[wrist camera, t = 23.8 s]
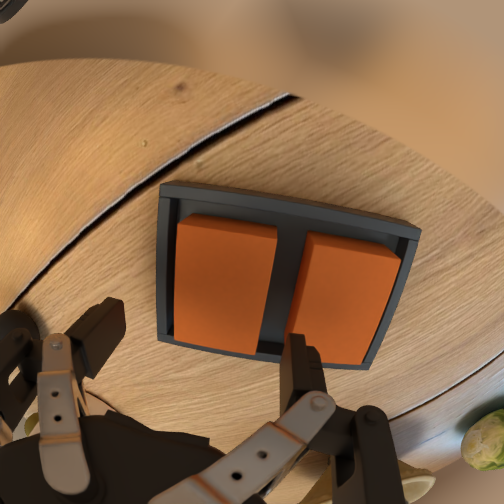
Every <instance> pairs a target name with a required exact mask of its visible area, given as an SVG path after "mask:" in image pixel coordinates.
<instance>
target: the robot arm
mask: <svg viewBox="0 0 504 504" xmlns="http://www.w3.org/2000/svg"><path fill="white" fill-rule="evenodd" d="M11 1H12V0H0V12H1V11H2V10H3V9H4V8H6V7H7V6H8V5H9V4H10V2H11ZM125 331H126V322H125V312H124V303H123V301H122V300H119V299H115V298H112V297H107V298H106V299H105V300H104V301H103V302H102V303H101V304H97V305H94V306H92V307H90V308H89V309H88V310H87V311H86V312H85V313H84V315H82V316H81V317H80V318H79V319H78V320H77V321H76V322H75V323H74V324H73V325H72V326H71V327H70V328H69V329H68V330H67V331H66V332H65V333H64V334H62V333H55V334H51V335H49V336H47V337H46V338H45V339H44V340H37V339H32V337H31V334H30V332H29V330H27V329H25V328H16V329H14V330H12V331H10V332H9V333H8V334H7V335H6V336H5V337H4V338H3V339H2V340H1V341H0V504H266V502H265V501H264V500H263V499H264V498H265V497H266V496H267V495H268V494H269V493H270V492H271V491H272V490H273V489H274V488H275V487H276V486H277V485H278V484H279V483H280V482H281V481H282V480H283V479H284V478H285V476H286V475H287V474H288V473H289V472H290V471H291V470H292V469H293V468H294V467H295V466H296V465H297V464H298V463H299V462H300V461H301V460H302V458H303V457H304V456H305V455H306V454H307V453H308V452H309V451H310V450H315V451H318V452H321V453H325V454H329V455H331V476H332V504H406V503H405V497H404V491H403V485H402V480H401V475H400V470H399V465H398V461H397V456H396V452H395V447H394V443H393V439H392V435H391V431H390V427H389V423H388V419H387V416H386V414H385V413H384V412H383V411H382V410H381V409H380V408H378V407H375V406H371V405H366V406H362V407H360V408H359V409H358V410H357V411H356V412H355V411H352V410H348V409H344V408H341V407H339V406H337V405H336V403H335V401H334V399H333V398H332V397H331V396H330V395H328V393H327V388H326V383H325V378H324V372H323V367H322V363H321V357H320V353H319V352H318V351H317V349H316V348H315V347H314V346H307V345H306V339H305V335H304V334H297V333H288V335H287V338H286V342H285V346H284V349H283V353H282V356H281V361H280V418H278V419H277V420H276V421H275V422H271V421H269V422H267V423H266V424H264V425H263V426H262V427H261V428H260V429H258V430H257V431H256V432H255V433H253V434H252V435H251V436H250V437H248V438H247V439H246V440H245V441H243V442H242V443H241V444H240V445H238V446H237V447H236V448H234V449H233V450H232V451H230V452H229V453H228V454H225V453H223V452H222V451H220V450H218V449H217V448H215V447H212V446H210V445H209V441H210V438H206V437H201V436H197V435H192V434H188V433H183V432H165V431H154V430H152V429H150V428H148V427H146V426H144V425H143V424H141V423H139V422H138V421H136V420H134V419H133V418H131V417H128V416H125V415H122V414H120V413H117V412H114V411H112V410H109V409H108V410H107V412H106V413H105V415H90V413H89V408H88V404H87V399H86V394H85V388H84V383H83V378H84V377H85V376H86V377H88V378H91V379H93V380H94V378H95V377H96V375H97V374H98V372H99V371H100V369H101V368H102V367H103V365H104V364H105V362H106V361H107V359H108V358H109V357H110V355H111V354H112V352H113V351H114V350H115V348H116V347H117V345H118V344H119V343H120V341H121V340H122V339H123V337H124V335H125ZM17 366H18V368H19V370H20V372H19V373H18V375H17V376H16V377H15V379H14V380H13V381H12V382H11V384H10V385H9V383H8V379H9V376H10V374H11V373H12V372H13V371H14V369H15V368H16V367H17ZM36 396H38V414H39V426H40V433H37V434H34V435H31V436H28V437H25V438H23V439H19V440H16V441H13V442H12V440H13V431H14V430H15V428H16V427H17V425H18V423H19V422H20V420H21V419H22V417H23V416H24V414H25V412H26V411H27V409H28V408H29V406H30V405H31V403H32V402H33V400H34V399H35V397H36Z"/></svg>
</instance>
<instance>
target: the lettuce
mask: <svg viewBox="0 0 504 504" xmlns="http://www.w3.org/2000/svg"><path fill="white" fill-rule="evenodd" d="M461 454H462V457H463V458H464V460H465V461H466V462H467V463H469V465H470V466H471V467H473V468H476V469H478V470H481V471H486V470H495V469H502V468H504V408H503V409H499V410H496V411H493V412H491V413H489V414H487V415H486V416H484V417H483V418H482V419H480V420H479V421H478V422H476V423H475V425H473V426H472V427H470V429H469V430H468V431H467V432H466V434H465V435H464V438H463V440H462V442H461Z"/></svg>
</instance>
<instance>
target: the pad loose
mask: <svg viewBox="0 0 504 504" xmlns="http://www.w3.org/2000/svg"><path fill="white" fill-rule="evenodd" d="M276 245H277V226H273V225H267V224H261V223H255V222H249V221H242V220H236V219H229V218H223V217H216V216H209V215H202V214H195V213H192V214H191V215H189V216H188V217H187V218H185V219H184V220H182V221H181V222H180V223H178V226H177V241H176V260H175V288H174V340H177V341H181V342H186V343H190V344H195V345H200V346H205V347H210V348H215V349H220V350H226V351H231V352H237V353H243V354H249V355H255V353H256V348H257V344H258V339H259V334H260V329H261V324H262V319H263V314H264V309H265V304H266V298H267V293H268V288H269V283H270V278H271V272H272V267H273V262H274V256H275V251H276Z"/></svg>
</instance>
